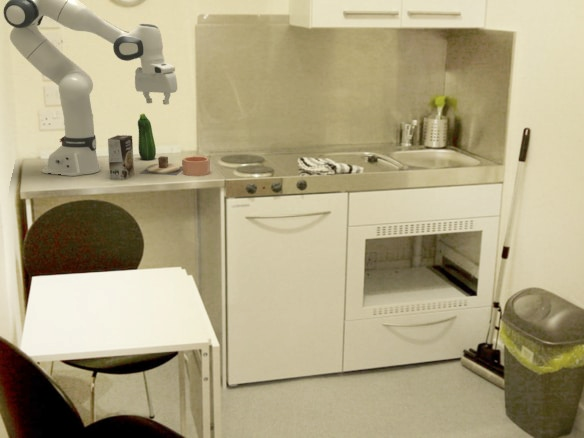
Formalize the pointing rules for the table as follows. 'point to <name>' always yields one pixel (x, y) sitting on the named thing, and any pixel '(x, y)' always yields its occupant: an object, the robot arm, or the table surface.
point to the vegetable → (146, 139)
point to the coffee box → (121, 157)
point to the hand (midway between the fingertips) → (157, 103)
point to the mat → (161, 174)
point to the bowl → (196, 166)
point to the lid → (163, 167)
